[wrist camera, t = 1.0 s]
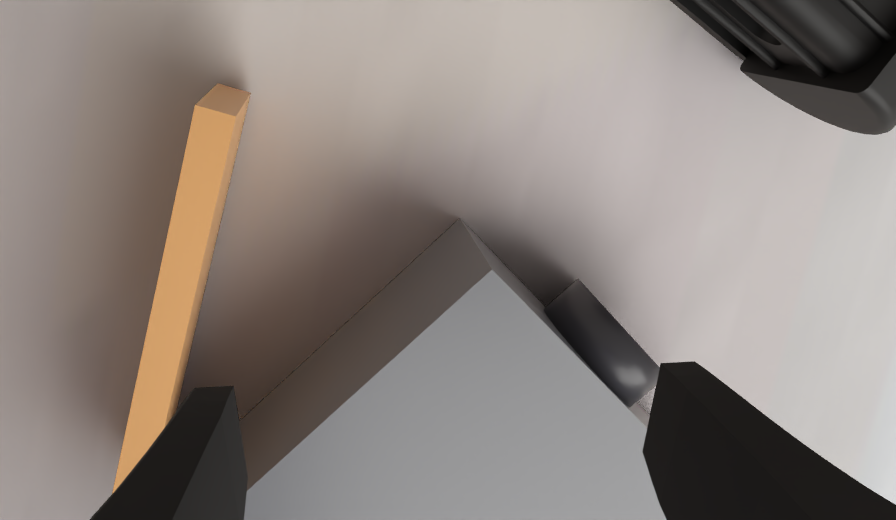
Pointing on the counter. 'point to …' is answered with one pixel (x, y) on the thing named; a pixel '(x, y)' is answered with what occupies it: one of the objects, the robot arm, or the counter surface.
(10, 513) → the counter surface
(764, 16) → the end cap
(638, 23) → the counter surface
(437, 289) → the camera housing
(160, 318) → the long wooden stick
